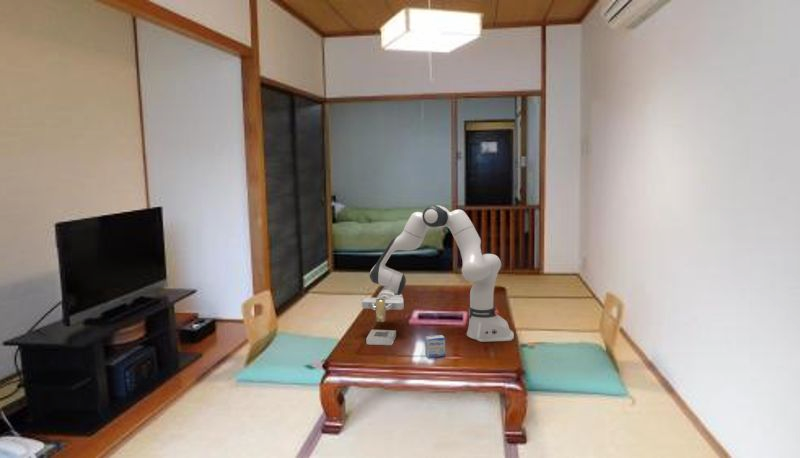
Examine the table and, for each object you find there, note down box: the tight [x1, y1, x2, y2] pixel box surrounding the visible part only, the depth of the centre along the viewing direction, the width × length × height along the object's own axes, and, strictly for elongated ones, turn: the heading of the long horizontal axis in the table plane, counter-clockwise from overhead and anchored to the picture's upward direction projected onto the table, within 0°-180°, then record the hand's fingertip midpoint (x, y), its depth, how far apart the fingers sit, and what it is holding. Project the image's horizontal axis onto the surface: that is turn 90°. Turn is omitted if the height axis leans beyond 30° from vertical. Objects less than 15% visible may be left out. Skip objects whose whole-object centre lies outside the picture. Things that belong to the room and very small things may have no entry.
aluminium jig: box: [365, 329, 397, 346], centre depth 261 cm, size 12×12×3 cm
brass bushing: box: [375, 299, 386, 323], centre depth 259 cm, size 4×4×10 cm
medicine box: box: [424, 334, 446, 359], centre depth 241 cm, size 8×4×9 cm, turn 105°
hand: (380, 308), depth 258 cm, fingers closed on brass bushing, 4 cm apart
